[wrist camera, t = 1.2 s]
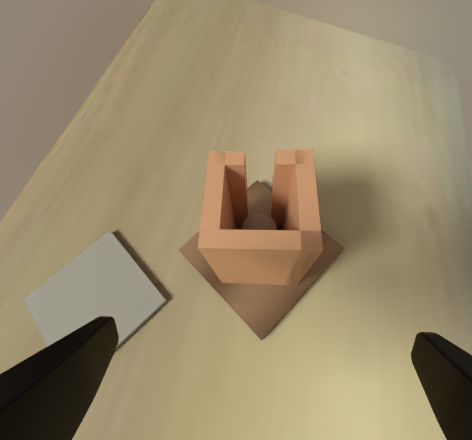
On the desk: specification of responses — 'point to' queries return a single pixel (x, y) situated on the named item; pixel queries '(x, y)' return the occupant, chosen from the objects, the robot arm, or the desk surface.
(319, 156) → the desk surface
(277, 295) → the stand
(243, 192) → the c link
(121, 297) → the mat
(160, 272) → the desk surface
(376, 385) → the desk surface
